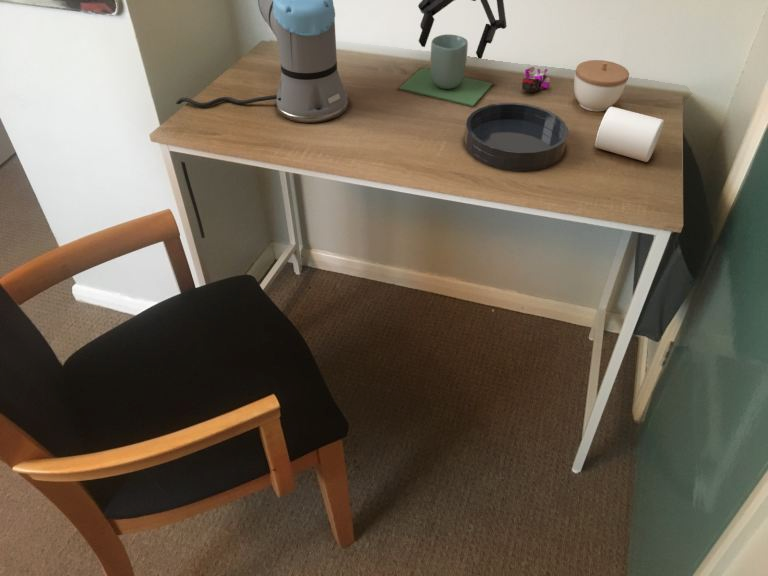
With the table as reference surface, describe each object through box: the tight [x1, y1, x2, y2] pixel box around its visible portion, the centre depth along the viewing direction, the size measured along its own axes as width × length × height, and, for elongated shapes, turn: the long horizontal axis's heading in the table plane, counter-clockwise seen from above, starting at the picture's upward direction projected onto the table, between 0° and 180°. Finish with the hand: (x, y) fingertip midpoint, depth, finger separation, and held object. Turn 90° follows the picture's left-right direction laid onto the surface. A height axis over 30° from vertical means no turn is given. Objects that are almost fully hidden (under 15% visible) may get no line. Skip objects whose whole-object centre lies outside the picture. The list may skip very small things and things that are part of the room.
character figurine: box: [521, 66, 551, 93], centre depth 137 cm, size 6×5×12 cm
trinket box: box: [573, 59, 630, 113], centre depth 129 cm, size 11×11×9 cm
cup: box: [429, 33, 469, 89], centre depth 135 cm, size 8×8×10 cm
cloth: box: [398, 67, 494, 107], centre depth 138 cm, size 18×12×1 cm, turn 62°
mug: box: [594, 106, 665, 163], centre depth 117 cm, size 12×10×8 cm
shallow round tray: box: [464, 102, 569, 172], centre depth 119 cm, size 19×19×4 cm
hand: (449, 50), depth 133 cm, fingers open, 13 cm apart
